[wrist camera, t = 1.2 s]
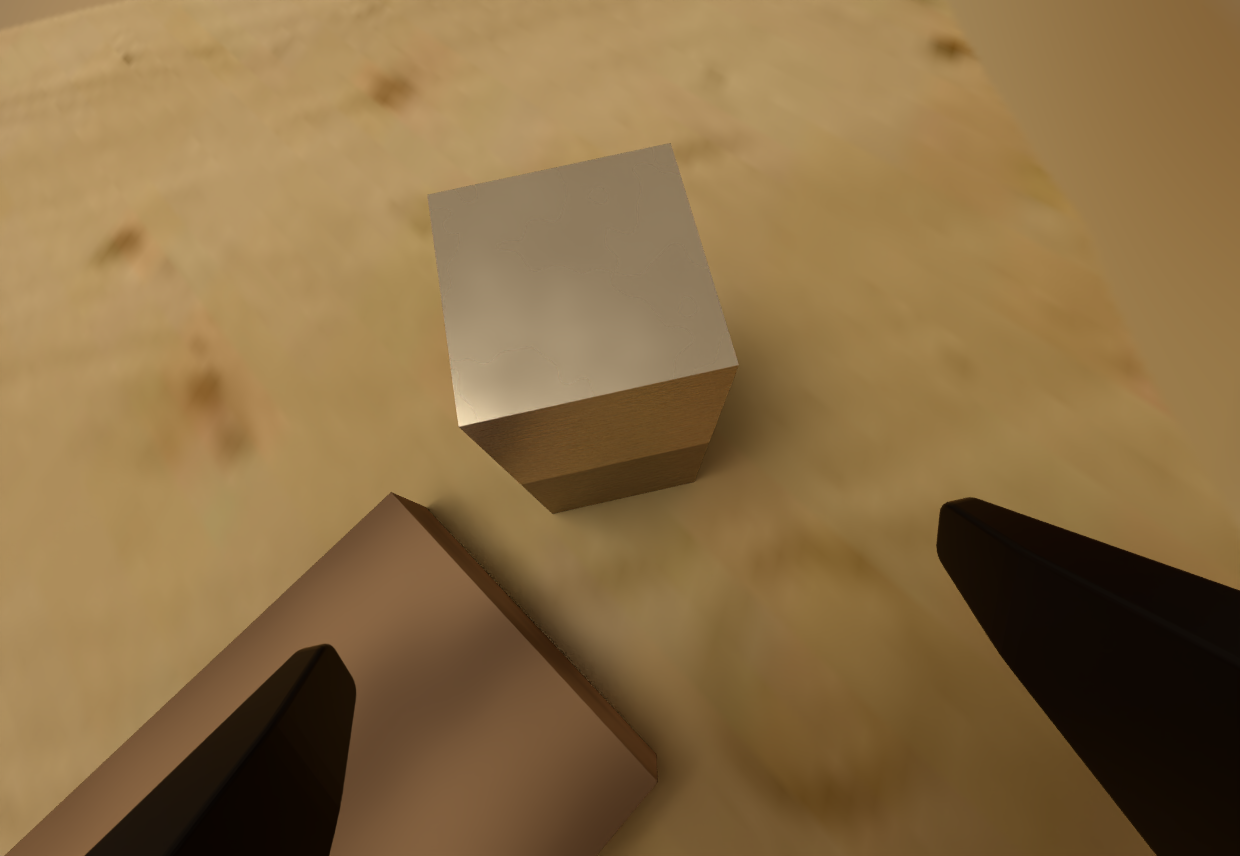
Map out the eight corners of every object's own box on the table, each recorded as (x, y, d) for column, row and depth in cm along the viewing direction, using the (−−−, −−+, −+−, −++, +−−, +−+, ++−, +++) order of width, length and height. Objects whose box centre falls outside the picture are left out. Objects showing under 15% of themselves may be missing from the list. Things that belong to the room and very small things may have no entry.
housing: (693, 481, 21) (738, 365, 11) (552, 513, 21) (458, 426, 11) (660, 353, 23) (670, 143, 12) (529, 382, 23) (427, 194, 12)
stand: (656, 754, 19) (658, 781, 16) (207, 1287, 15) (106, 1444, 12) (425, 506, 21) (390, 491, 19) (5, 910, 18) (-115, 968, 15)
